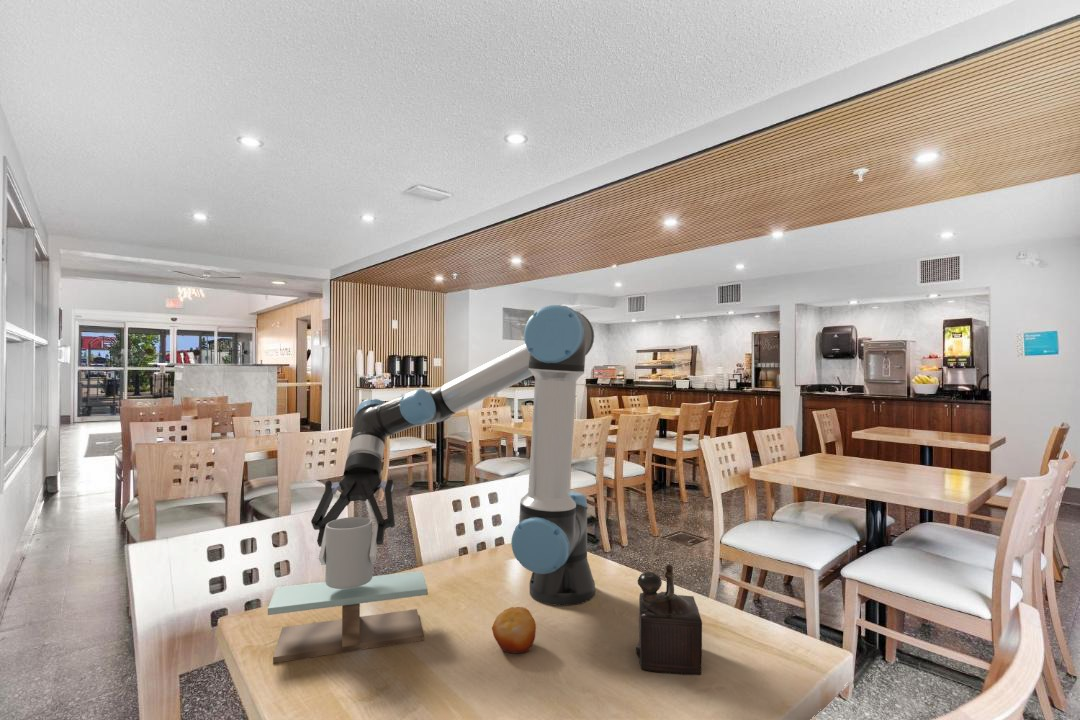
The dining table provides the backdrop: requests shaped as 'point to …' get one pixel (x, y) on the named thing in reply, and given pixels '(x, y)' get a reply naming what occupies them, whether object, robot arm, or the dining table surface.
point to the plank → (347, 593)
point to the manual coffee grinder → (668, 628)
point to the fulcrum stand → (347, 634)
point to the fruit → (514, 630)
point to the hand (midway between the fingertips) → (347, 560)
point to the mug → (348, 552)
